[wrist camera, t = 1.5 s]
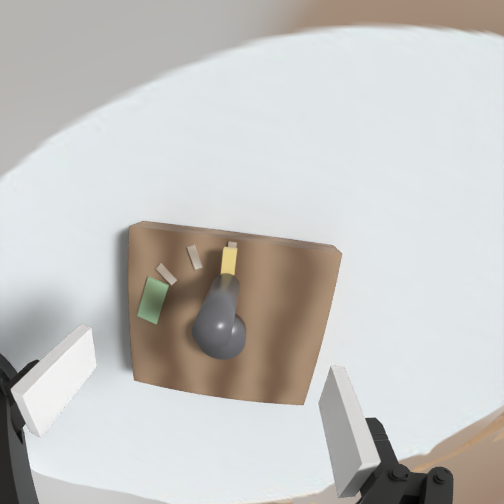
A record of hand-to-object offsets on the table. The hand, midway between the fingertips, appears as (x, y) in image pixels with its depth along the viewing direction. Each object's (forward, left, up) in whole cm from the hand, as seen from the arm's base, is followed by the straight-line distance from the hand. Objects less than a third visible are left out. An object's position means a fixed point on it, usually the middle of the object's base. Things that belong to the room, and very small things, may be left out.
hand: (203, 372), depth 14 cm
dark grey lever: (0, -3, -16) cm, 16 cm away
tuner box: (0, -6, -20) cm, 21 cm away
